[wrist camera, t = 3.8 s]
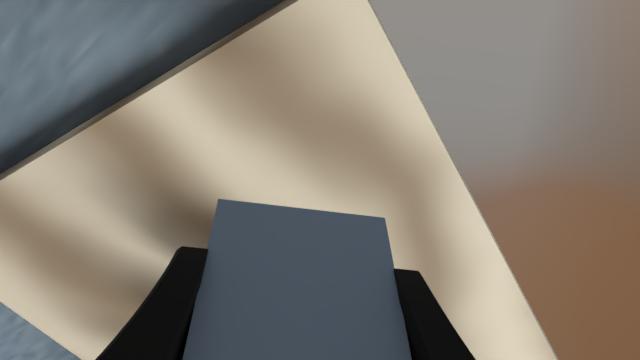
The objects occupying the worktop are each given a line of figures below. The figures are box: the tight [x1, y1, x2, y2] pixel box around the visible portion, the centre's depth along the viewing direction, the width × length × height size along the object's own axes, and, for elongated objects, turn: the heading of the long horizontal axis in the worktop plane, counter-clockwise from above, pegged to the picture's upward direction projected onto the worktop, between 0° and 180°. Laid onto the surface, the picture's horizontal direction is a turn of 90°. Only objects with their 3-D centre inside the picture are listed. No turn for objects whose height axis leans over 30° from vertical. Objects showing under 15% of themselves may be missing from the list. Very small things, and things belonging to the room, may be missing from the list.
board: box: [0, 0, 558, 360], centre depth 27 cm, size 22×26×1 cm
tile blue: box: [183, 199, 412, 360], centre depth 12 cm, size 2×4×7 cm, turn 81°
